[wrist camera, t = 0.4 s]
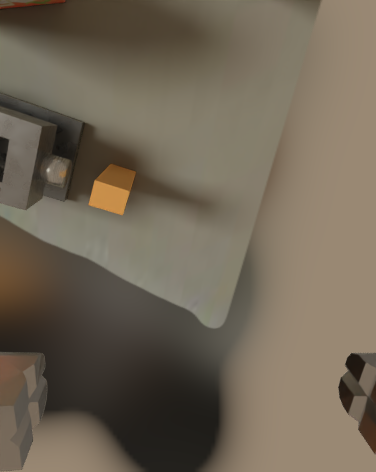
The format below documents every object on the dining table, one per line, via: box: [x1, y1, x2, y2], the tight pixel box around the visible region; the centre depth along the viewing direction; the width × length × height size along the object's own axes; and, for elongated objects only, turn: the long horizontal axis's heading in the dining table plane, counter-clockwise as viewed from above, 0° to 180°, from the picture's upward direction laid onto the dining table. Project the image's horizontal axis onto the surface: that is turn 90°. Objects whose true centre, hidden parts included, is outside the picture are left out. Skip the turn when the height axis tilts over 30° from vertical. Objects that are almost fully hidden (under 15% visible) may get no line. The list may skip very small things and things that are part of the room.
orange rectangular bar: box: [89, 164, 136, 215], centre depth 43 cm, size 3×4×14 cm
